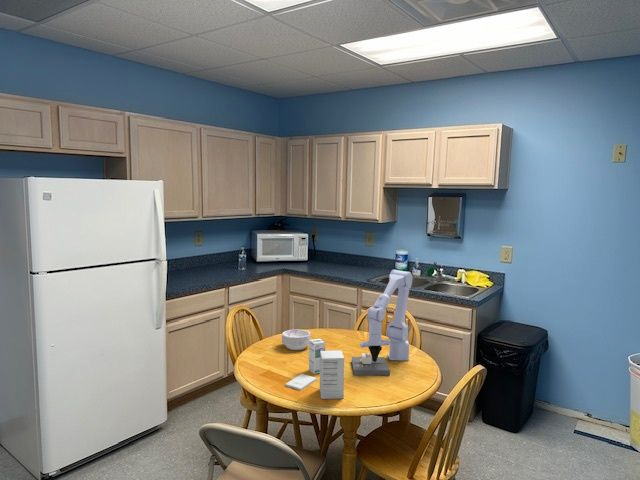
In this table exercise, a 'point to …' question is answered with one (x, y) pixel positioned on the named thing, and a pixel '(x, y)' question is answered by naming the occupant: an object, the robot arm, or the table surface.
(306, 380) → the external hard drive
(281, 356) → the table surface
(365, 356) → the fader knob
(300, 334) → the paper bowls
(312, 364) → the syrup box
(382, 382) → the table surface
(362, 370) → the slide fader panel
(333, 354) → the supplement box
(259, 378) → the table surface
